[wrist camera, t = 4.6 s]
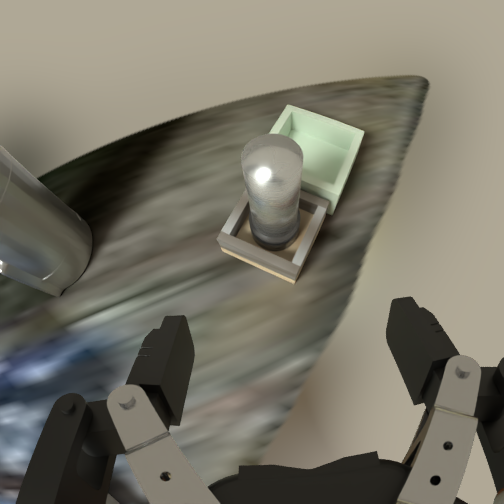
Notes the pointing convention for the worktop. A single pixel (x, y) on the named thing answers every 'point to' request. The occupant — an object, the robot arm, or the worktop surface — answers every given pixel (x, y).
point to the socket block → (275, 262)
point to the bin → (321, 151)
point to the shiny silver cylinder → (273, 189)
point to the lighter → (111, 500)
